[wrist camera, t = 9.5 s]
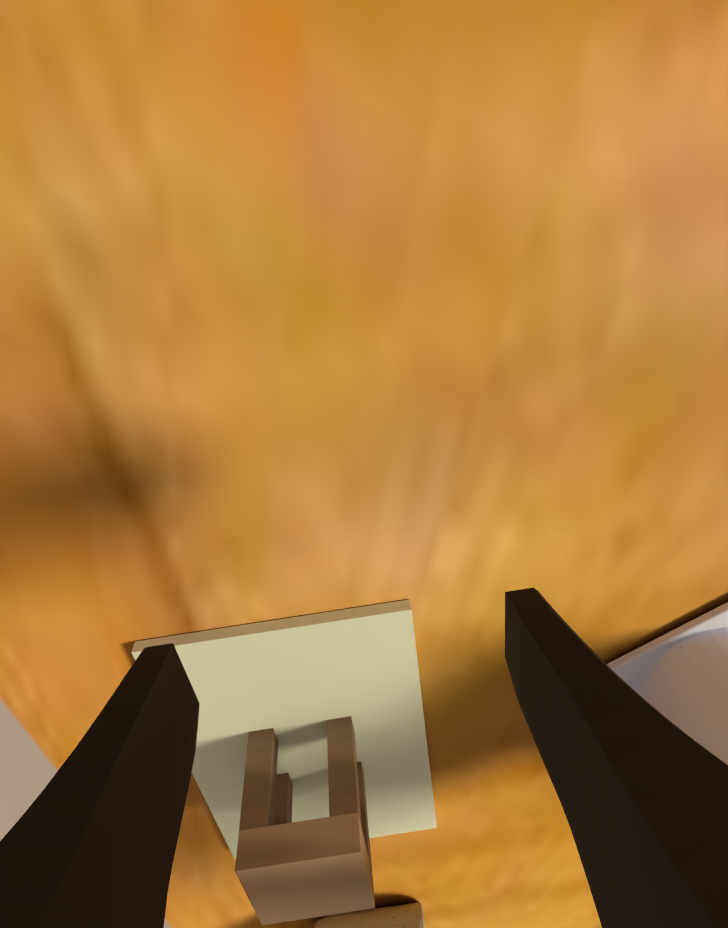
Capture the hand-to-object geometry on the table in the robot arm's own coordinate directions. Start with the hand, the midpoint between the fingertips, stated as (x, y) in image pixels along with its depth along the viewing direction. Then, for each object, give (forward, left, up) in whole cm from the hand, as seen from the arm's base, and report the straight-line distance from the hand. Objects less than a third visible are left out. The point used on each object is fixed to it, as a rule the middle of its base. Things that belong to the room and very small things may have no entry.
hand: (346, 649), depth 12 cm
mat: (-13, +12, -9) cm, 20 cm away
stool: (-13, +12, -9) cm, 20 cm away
